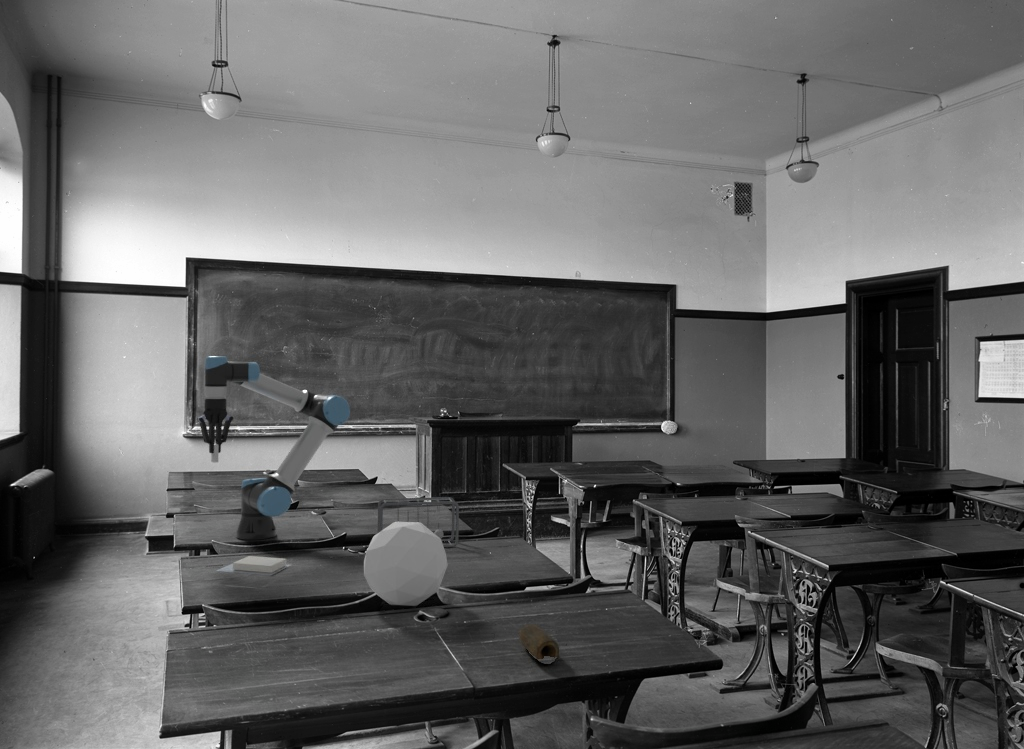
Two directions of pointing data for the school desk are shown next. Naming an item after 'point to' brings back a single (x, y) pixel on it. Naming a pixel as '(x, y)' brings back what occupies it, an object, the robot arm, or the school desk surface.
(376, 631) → the school desk surface
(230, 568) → the mat
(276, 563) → the tile
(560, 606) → the school desk surface
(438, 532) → the newton's cradle
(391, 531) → the geometric polyhedron
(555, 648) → the brown hollow tube
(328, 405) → the robot arm
